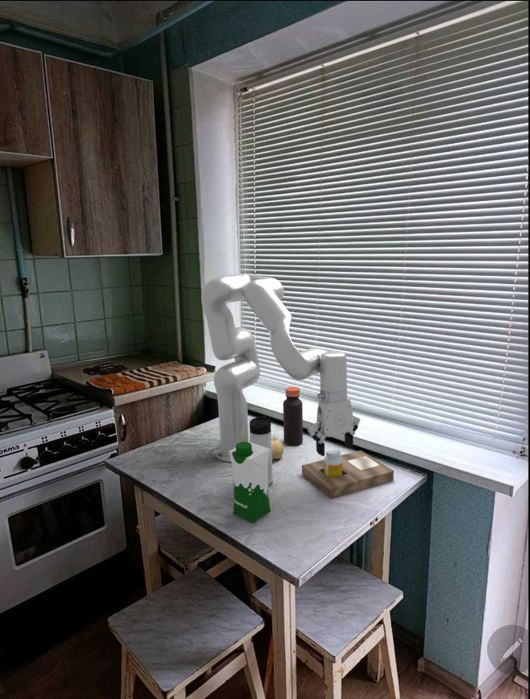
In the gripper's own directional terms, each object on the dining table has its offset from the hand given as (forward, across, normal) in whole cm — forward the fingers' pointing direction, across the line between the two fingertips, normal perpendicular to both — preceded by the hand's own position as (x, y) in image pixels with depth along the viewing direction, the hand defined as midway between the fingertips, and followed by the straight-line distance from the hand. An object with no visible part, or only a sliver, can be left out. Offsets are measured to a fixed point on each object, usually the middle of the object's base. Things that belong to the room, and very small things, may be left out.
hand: (335, 450), depth 137 cm
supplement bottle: (+10, 0, +1) cm, 10 cm away
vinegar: (+9, +2, +31) cm, 32 cm away
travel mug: (+10, -20, +10) cm, 24 cm away
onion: (+10, -10, +24) cm, 27 cm away
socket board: (+10, +4, +1) cm, 11 cm away
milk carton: (+10, -28, -3) cm, 30 cm away
